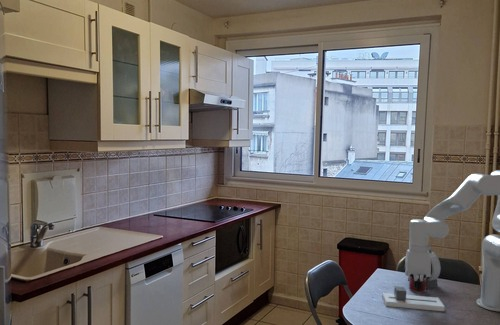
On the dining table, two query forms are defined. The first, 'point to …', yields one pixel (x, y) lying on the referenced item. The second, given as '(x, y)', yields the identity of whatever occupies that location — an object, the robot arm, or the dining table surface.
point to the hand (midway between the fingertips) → (417, 288)
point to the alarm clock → (432, 271)
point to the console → (414, 302)
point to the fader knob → (400, 293)
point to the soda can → (412, 288)
